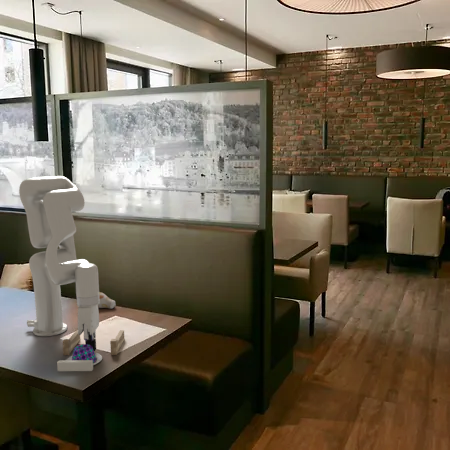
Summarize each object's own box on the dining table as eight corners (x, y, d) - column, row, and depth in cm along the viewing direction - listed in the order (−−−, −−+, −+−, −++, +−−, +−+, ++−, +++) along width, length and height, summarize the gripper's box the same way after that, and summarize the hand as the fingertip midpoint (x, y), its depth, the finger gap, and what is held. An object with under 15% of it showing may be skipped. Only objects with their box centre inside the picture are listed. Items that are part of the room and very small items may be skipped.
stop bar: (57, 371, 155) (57, 362, 154) (59, 369, 156) (58, 360, 156) (91, 371, 155) (91, 362, 154) (93, 368, 156) (92, 360, 156)
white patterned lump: (113, 311, 211) (100, 293, 208) (97, 318, 215) (85, 300, 212) (121, 302, 217) (109, 284, 215) (106, 309, 221) (93, 291, 219)
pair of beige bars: (63, 355, 167) (62, 341, 166) (75, 339, 180) (74, 326, 179) (116, 354, 166) (116, 341, 166) (125, 339, 180) (124, 326, 179)
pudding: (86, 351, 170) (86, 337, 170) (109, 359, 164) (108, 345, 163) (57, 363, 161) (56, 349, 160) (80, 373, 154) (79, 358, 153)
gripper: (83, 293, 172) (86, 341, 175) (69, 307, 158) (73, 359, 161) (104, 293, 172) (107, 341, 175) (92, 307, 157) (95, 359, 161)
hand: (91, 350), depth 168 cm, fingers closed
